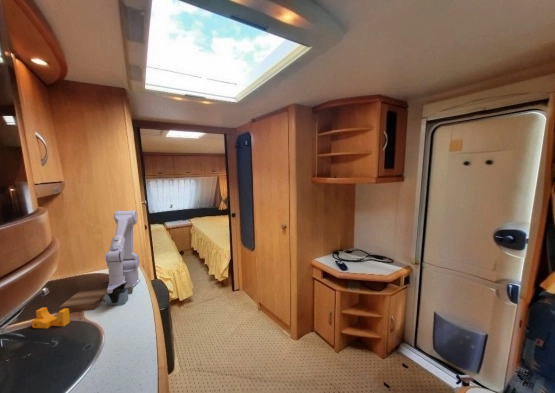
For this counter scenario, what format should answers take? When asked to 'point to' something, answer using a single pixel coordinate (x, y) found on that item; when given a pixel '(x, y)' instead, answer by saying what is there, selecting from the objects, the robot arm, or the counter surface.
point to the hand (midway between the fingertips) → (117, 299)
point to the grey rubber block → (129, 288)
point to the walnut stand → (84, 301)
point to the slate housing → (121, 298)
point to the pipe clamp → (50, 318)
